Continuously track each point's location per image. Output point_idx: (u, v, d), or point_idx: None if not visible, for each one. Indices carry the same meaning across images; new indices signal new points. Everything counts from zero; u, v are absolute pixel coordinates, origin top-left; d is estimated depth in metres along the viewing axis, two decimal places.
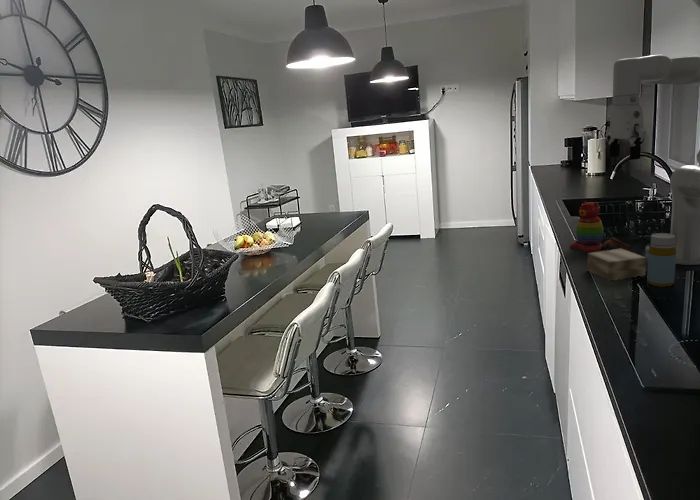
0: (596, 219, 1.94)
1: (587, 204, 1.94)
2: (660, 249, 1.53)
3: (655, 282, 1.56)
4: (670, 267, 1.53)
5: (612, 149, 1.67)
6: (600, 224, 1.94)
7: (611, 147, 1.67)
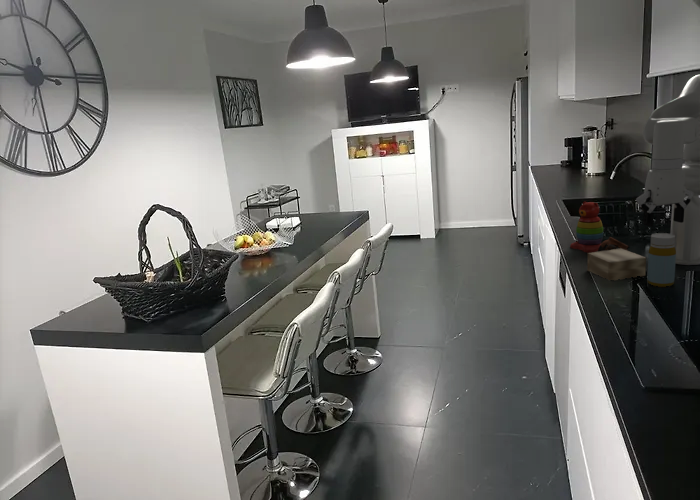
0: (596, 219, 1.94)
1: (587, 204, 1.94)
2: (660, 249, 1.53)
3: (655, 282, 1.56)
4: (670, 267, 1.53)
5: None
6: (600, 224, 1.94)
7: None
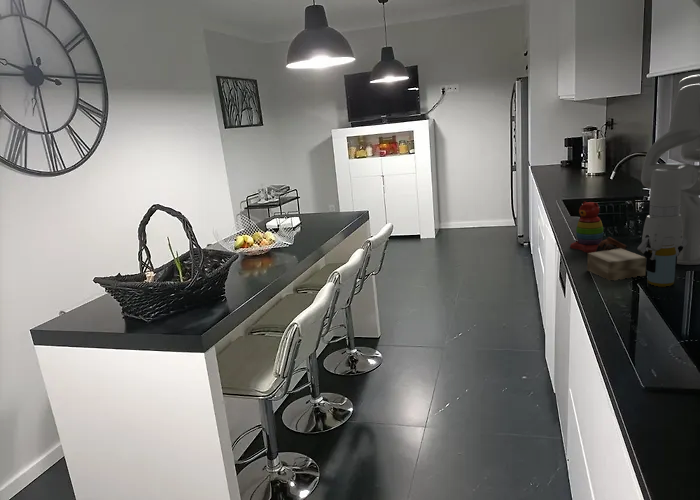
0: (596, 219, 1.94)
1: (587, 204, 1.94)
2: (660, 249, 1.53)
3: (655, 282, 1.56)
4: (670, 267, 1.53)
5: None
6: (600, 224, 1.94)
7: None
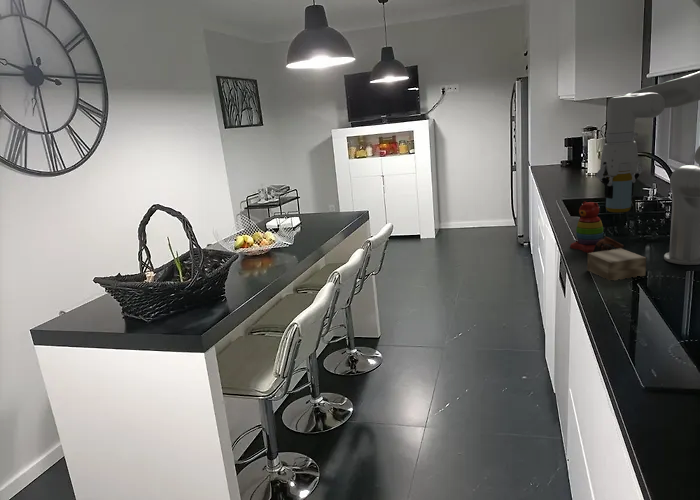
0: (596, 219, 1.94)
1: (587, 204, 1.94)
2: (617, 175, 1.60)
3: (613, 207, 1.63)
4: (626, 193, 1.60)
5: None
6: (600, 224, 1.94)
7: None
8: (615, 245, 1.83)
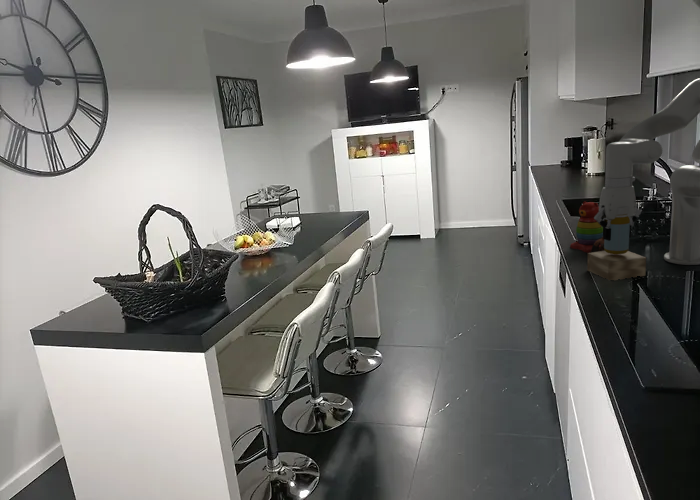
0: None
1: (587, 204, 1.94)
2: (615, 218, 1.64)
3: (611, 249, 1.67)
4: (624, 235, 1.64)
5: None
6: None
7: None
8: None
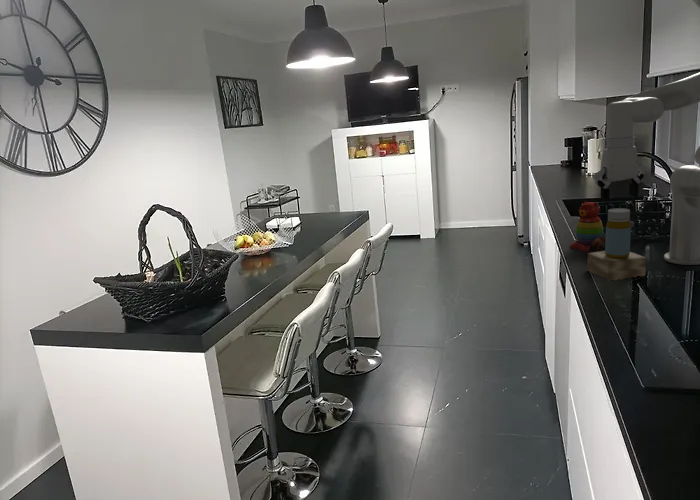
0: (596, 219, 1.94)
1: (587, 204, 1.94)
2: (616, 223, 1.63)
3: (612, 253, 1.66)
4: (625, 240, 1.64)
5: None
6: (600, 224, 1.94)
7: None
8: None
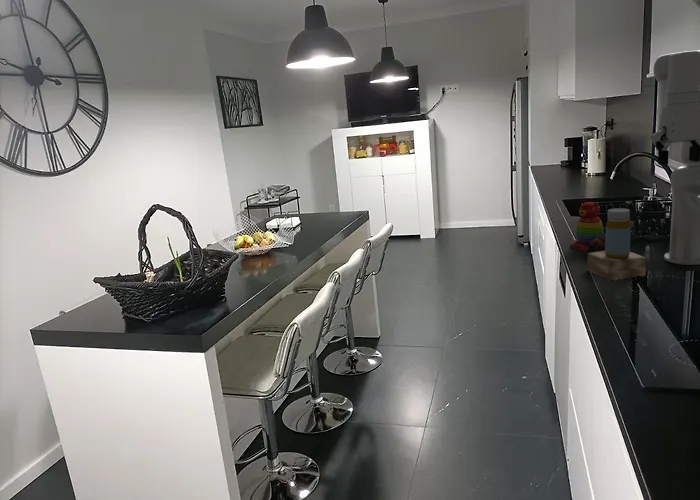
0: (596, 219, 1.94)
1: (587, 204, 1.94)
2: (615, 222, 1.63)
3: (612, 253, 1.66)
4: (625, 240, 1.64)
5: None
6: (600, 224, 1.94)
7: None
8: None
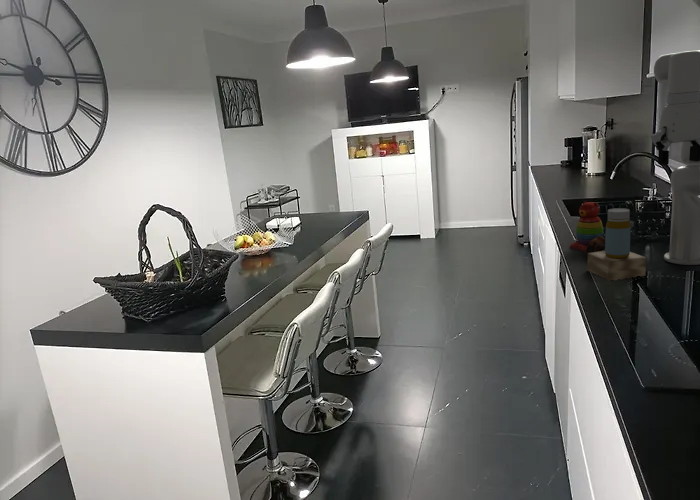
0: (596, 219, 1.94)
1: (587, 204, 1.94)
2: (615, 222, 1.63)
3: (612, 253, 1.66)
4: (625, 240, 1.64)
5: None
6: (600, 224, 1.94)
7: None
8: None
